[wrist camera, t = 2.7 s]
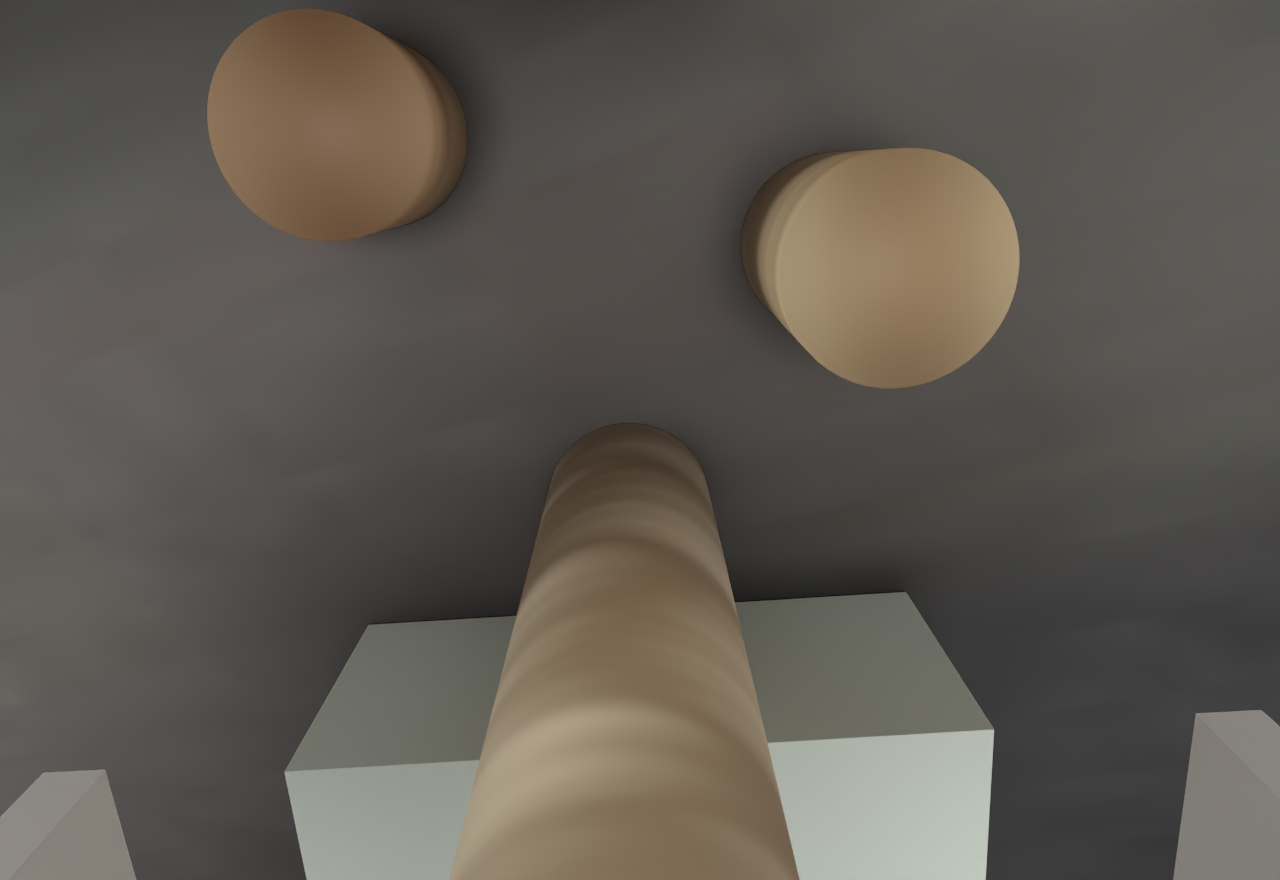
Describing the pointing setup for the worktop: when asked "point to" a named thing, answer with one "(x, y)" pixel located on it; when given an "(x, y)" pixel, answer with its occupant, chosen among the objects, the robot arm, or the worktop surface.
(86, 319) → the worktop surface
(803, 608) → the socket block
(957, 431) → the worktop surface
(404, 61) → the dowel short
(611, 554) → the dowel long
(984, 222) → the dowel mid
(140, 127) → the worktop surface
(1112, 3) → the worktop surface
